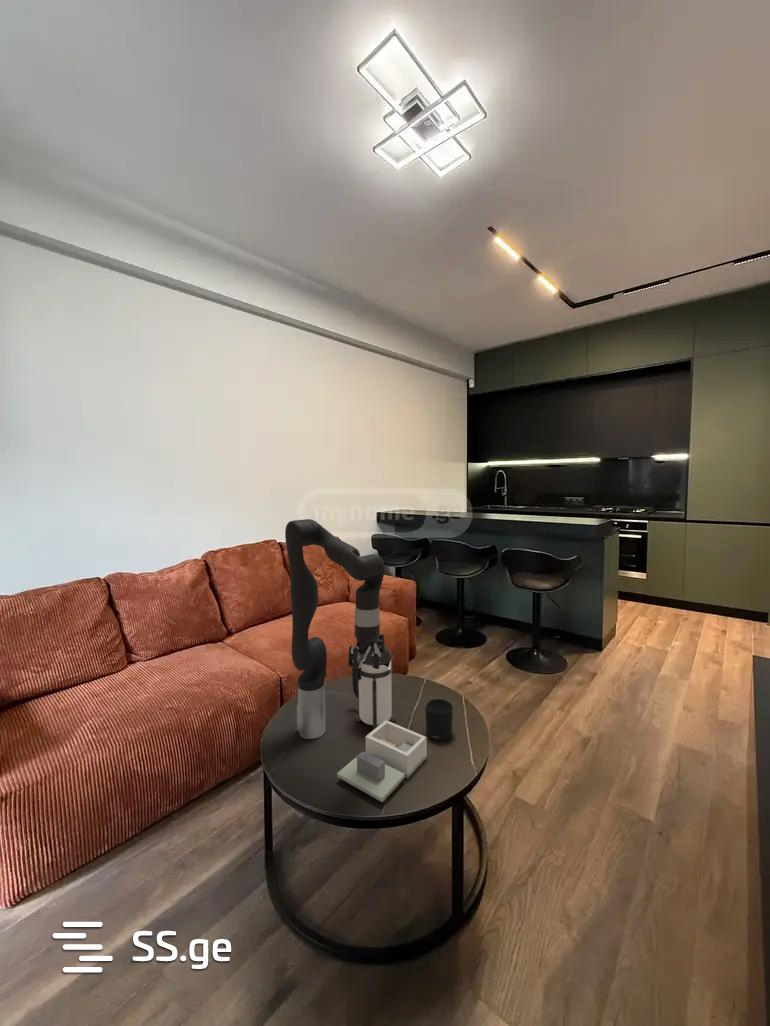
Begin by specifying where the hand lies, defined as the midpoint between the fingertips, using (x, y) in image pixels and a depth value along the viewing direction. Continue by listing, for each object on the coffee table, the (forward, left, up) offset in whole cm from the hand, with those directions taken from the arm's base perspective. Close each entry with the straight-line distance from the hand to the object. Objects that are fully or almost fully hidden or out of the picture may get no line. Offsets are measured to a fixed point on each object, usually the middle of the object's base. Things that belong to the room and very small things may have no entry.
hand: (367, 673), depth 123 cm
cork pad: (+4, -4, -30) cm, 31 cm away
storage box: (+4, +9, -30) cm, 32 cm away
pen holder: (+9, +28, -30) cm, 42 cm away
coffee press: (-15, +21, -30) cm, 40 cm away
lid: (+4, -4, -30) cm, 30 cm away
